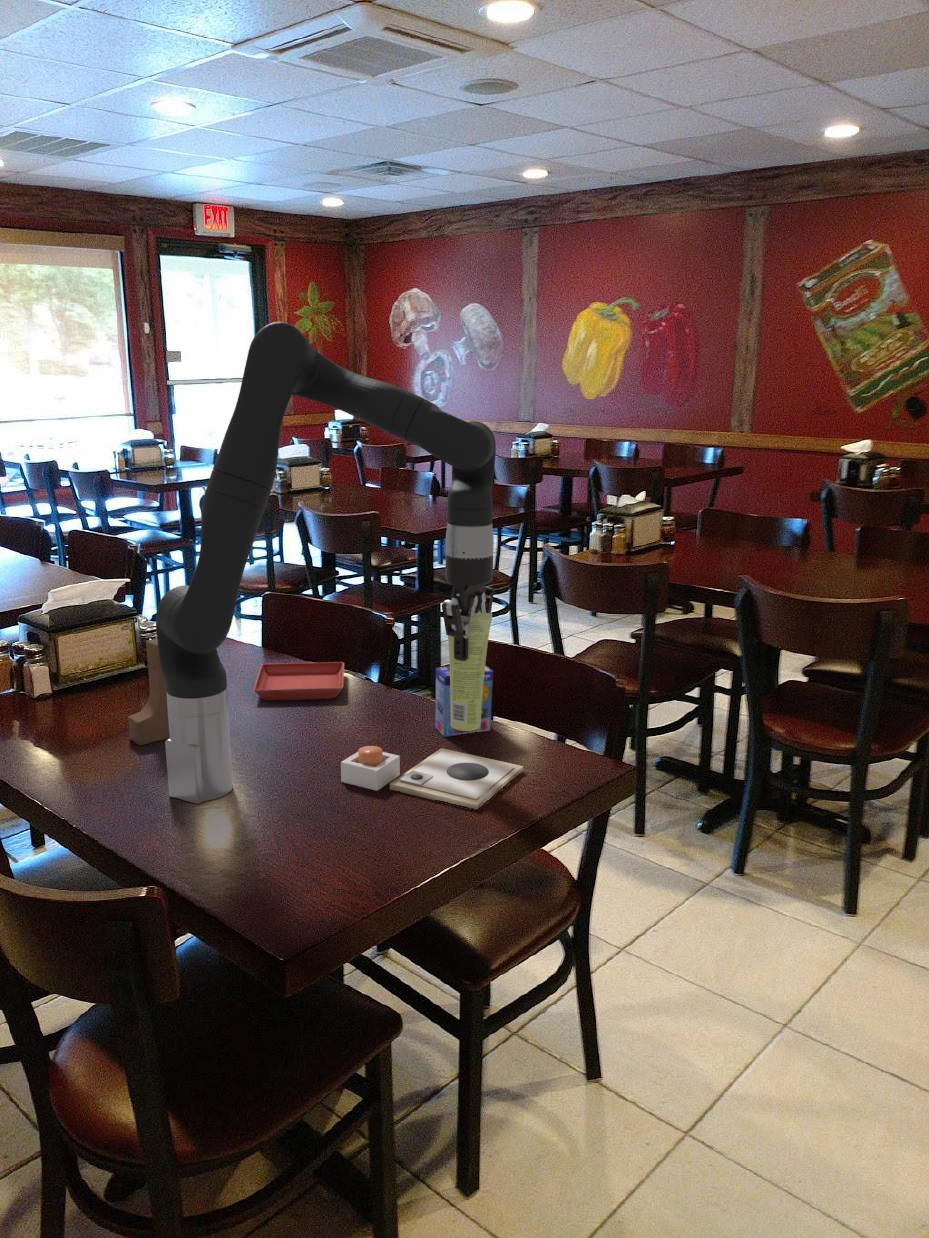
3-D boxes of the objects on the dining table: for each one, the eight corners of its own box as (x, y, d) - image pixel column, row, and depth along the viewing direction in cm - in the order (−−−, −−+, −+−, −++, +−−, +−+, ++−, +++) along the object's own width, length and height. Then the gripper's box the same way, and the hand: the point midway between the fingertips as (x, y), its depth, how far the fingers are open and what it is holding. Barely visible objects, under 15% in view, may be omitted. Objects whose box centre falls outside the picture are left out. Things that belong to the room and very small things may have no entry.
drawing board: (477, 811, 151) (477, 802, 150) (389, 789, 158) (389, 780, 157) (523, 771, 165) (523, 763, 165) (441, 753, 172) (441, 745, 172)
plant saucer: (261, 677, 213) (261, 662, 212) (344, 675, 215) (344, 660, 214) (253, 705, 196) (252, 689, 195) (343, 703, 198) (343, 687, 197)
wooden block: (139, 746, 174) (131, 650, 169) (128, 739, 177) (120, 644, 172) (186, 734, 180) (179, 641, 175) (175, 727, 183) (168, 635, 178)
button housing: (376, 790, 157) (376, 770, 156) (341, 781, 160) (340, 762, 160) (399, 775, 163) (399, 755, 162) (364, 766, 166) (364, 747, 166)
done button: (374, 776, 159) (373, 757, 158) (353, 771, 161) (353, 752, 160) (387, 768, 162) (387, 748, 161) (367, 763, 164) (366, 744, 163)
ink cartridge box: (444, 738, 179) (444, 663, 175) (433, 728, 184) (433, 655, 180) (493, 731, 183) (494, 657, 179) (480, 721, 188) (482, 649, 184)
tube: (470, 717, 164) (472, 606, 159) (490, 726, 160) (492, 612, 155) (444, 725, 160) (445, 611, 155) (463, 734, 157) (465, 618, 151)
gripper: (469, 562, 145) (468, 671, 149) (510, 546, 157) (508, 648, 161) (425, 557, 148) (425, 664, 153) (469, 542, 160) (468, 641, 165)
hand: (468, 655), depth 157 cm, fingers closed on tube, 4 cm apart
